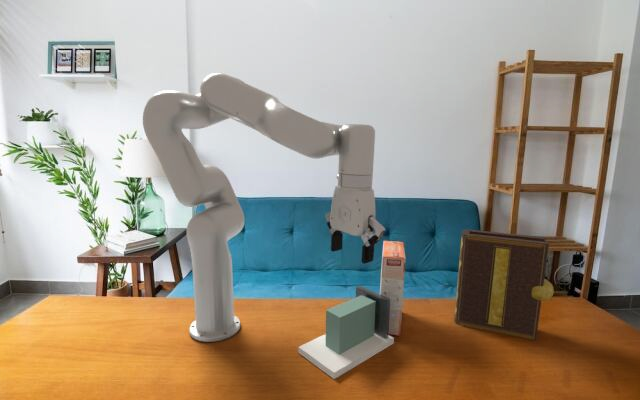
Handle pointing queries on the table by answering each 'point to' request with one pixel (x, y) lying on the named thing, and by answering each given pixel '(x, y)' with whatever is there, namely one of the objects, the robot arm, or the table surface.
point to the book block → (350, 323)
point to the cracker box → (393, 281)
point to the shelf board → (345, 361)
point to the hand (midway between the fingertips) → (351, 255)
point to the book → (502, 282)
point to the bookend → (378, 310)
